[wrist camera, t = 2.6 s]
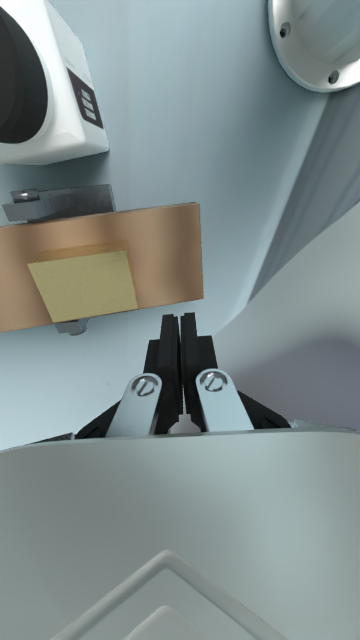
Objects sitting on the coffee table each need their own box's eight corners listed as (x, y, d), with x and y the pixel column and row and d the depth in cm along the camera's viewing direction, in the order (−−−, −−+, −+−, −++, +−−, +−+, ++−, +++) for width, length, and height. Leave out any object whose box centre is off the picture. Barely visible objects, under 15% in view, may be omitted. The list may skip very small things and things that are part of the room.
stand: (109, 179, 26) (76, 184, 18) (134, 294, 33) (118, 335, 25) (-54, 197, 27) (-155, 209, 19) (5, 304, 34) (-49, 346, 26)
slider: (126, 239, 21) (125, 250, 18) (137, 291, 23) (137, 308, 20) (42, 250, 20) (27, 264, 17) (63, 303, 23) (53, 322, 20)
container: (82, 41, 20) (-35, -110, 9) (111, 150, 24) (53, 136, 13) (-1, 63, 21) (-200, -52, 10) (41, 166, 25) (-69, 164, 14)
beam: (194, 202, 22) (199, 204, 20) (198, 290, 27) (203, 298, 25) (-147, 244, 19) (-174, 251, 17) (-73, 335, 24) (-88, 347, 22)
